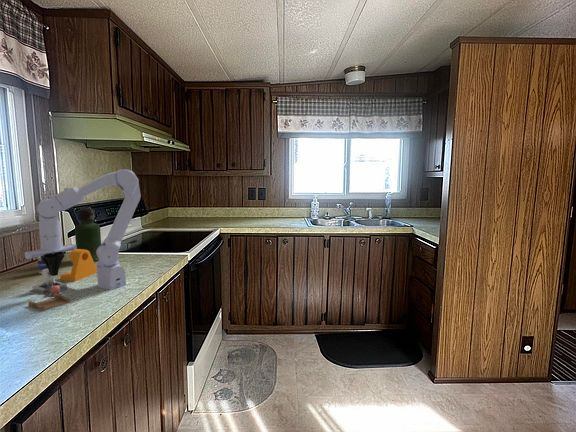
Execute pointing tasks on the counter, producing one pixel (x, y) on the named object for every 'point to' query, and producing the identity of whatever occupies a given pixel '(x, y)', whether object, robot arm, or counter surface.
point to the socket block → (47, 291)
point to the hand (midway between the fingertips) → (54, 275)
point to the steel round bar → (48, 279)
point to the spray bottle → (88, 232)
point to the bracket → (80, 265)
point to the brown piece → (50, 303)
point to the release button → (55, 290)
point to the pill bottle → (41, 265)
